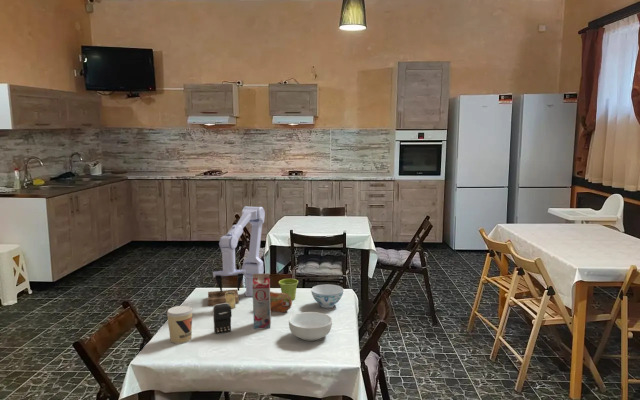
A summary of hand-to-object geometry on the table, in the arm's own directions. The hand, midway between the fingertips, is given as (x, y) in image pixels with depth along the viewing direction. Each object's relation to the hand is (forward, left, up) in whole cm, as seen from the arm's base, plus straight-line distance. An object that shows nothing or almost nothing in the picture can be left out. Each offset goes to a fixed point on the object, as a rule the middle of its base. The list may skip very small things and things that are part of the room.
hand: (229, 290), depth 211 cm
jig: (+3, -11, -8) cm, 14 cm away
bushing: (0, 0, -8) cm, 8 cm away
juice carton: (-12, +25, -8) cm, 29 cm away
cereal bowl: (-29, +41, -8) cm, 51 cm away
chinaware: (-44, +9, -8) cm, 45 cm away
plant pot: (-28, -5, -8) cm, 30 cm away
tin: (-20, +9, -8) cm, 23 cm away
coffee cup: (+20, +31, -8) cm, 38 cm away
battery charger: (+4, +28, -8) cm, 29 cm away
